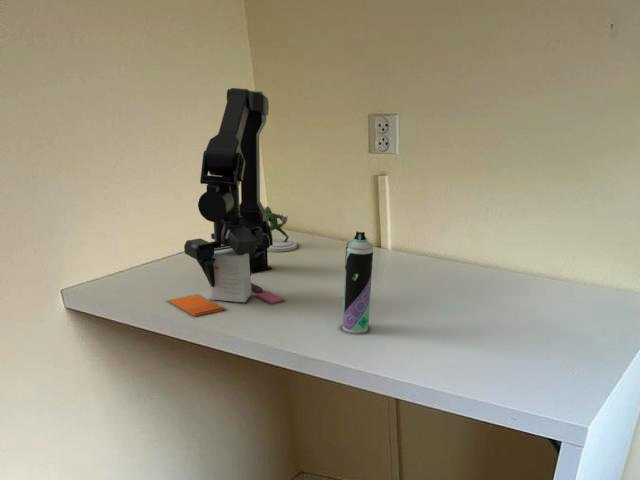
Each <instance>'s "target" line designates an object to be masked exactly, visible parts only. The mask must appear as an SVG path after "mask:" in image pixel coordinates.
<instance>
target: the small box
mask: <svg viewBox="0 0 640 480" xmlns="http://www.w3.org/2000/svg"><path fill="white" fill-rule="evenodd" d="M212 257H213V258H215V259H216V260H215V262H214V265H213V266H214V276H215V287H212V286H211V285H210V284H209V286H210V296H211V300H212V301H223V302H235V303H246V302H247V301H248V300H249V298H250V297H251V295H252V290H251V283H252V280H251V276H250V263H249V253H247V254H244V255H237V254H236V253H235V252H234V250H233V249H232V248H229V249H224V250H218V251H214V255H213V256H212Z"/></svg>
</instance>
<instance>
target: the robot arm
mask: <svg viewBox="0 0 640 480" xmlns="http://www.w3.org/2000/svg"><path fill="white" fill-rule="evenodd" d="M269 106H270V105H269V98H268V97H267V96H266V95H264V93H263V92H262V91H258V90H257V91H256V90H249V88H237V87H231V88H228V89H227V90H226V104H225V108H224V112H223V116H222V119H221V122H220V125H219V130H218V133H217V134H216V135H214V136H213V137H212V138H210V139H209V141H208V143H207V146H206V148H205V150H204V151H203V154H202V162H201V172H200V180H199V183H200V184H201V185H205V186H206V191H205V192H203V193H202V194H201V195H200V197H199V199H198V202H197V209H198V211H199V213H200V215H201V216H202V217H203V218H204V219H205V220H206V221H208V222H211V223H213V233H210V237H211V238H210V239H211V240H214V241H208V240H205V239H203V238H194V239H188V240H186V241H185V242H184V246H183V247H184V249H183V250H184V254H185V255H187V256H189V257H191V258H192V259H194V260H196V261H197V263H198V264H199V266H200V268H201V269H202V272H203V273H204V275H205V278H206V280H207V282H208V284H209V286H210V285H211V286H212V287H215V276H214V266H213V265H214V262H215V260H216V259H215V258H213V257H212V256H213V255H214V251H218V250H224V249H229V248H232V249H233V250H234V252H235V253H236V254H237V255H244V254H247V253H249V263H250V277H251V276H252V273H257V272H262V271H267V270H271V269H272V266H271V265H269V263H268V262H269V261H268V251H267V248H269V247H270V246H271V245H273V238H272V236H273V232H272V231H271V228H270V226H271V225H270V222H269V221H267V213H266V211H265V208H264V205H263V204H262V203H261V170H260V169H261V165H260V163H261V161H260V160H261V159H260V157H261V156H260V155H261V153H260V151H261V150H260V149H261V148H260V135H261V133H262V132H263V129H264V127H265V126H266V124H267V116H268V115H269V112H270V111H269V110H270V108H269ZM239 187H240V188H239Z"/></svg>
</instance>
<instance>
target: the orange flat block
mask: <svg viewBox="0 0 640 480" xmlns="http://www.w3.org/2000/svg"><path fill="white" fill-rule="evenodd" d="M169 302H170V303H171V304H172V305H174V306H177V307H178V308H180V309H182V310H183V311H185V312H187V313H188V314H190V315H192V316H194V317H195V318H196V317H200V316H204V315H209V314H212V313H218V312H221V311H224V307H223V306H221V305H219V304H218V303H216V302H215V303H214V302H211V301H209V300H208V299H206V298H204V297H202V296H201V295H198V294H194V295H188V296H185V297H180V298H174V299H170V300H169Z"/></svg>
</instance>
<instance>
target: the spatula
mask: <svg viewBox="0 0 640 480" xmlns="http://www.w3.org/2000/svg"><path fill="white" fill-rule="evenodd" d="M251 292H254V296H255V297H256V298H258V299H260V300H263V301H264V302H267V303H268V304H271V305H273V304H277V303H282V302H284V298H283V297H281V296H278V295H277V294H274V293H272V292H270V291H264V289H263V287H261V286H259V285H257V284H255V283H253V282H251Z"/></svg>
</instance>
